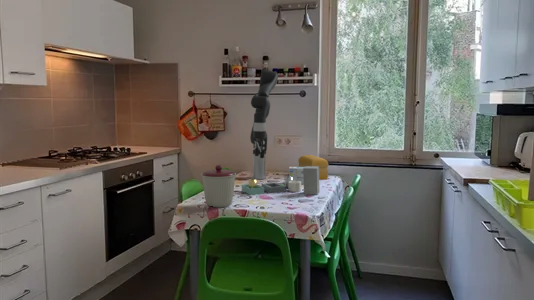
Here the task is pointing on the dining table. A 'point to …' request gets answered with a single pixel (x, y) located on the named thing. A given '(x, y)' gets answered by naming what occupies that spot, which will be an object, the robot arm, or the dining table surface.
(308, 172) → the skincare box
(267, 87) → the robot arm
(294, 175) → the light bulb box
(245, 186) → the trough
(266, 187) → the block
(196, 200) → the dining table surface
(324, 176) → the bread
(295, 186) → the white cup
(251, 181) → the brass cell
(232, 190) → the canister
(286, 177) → the grey cell
